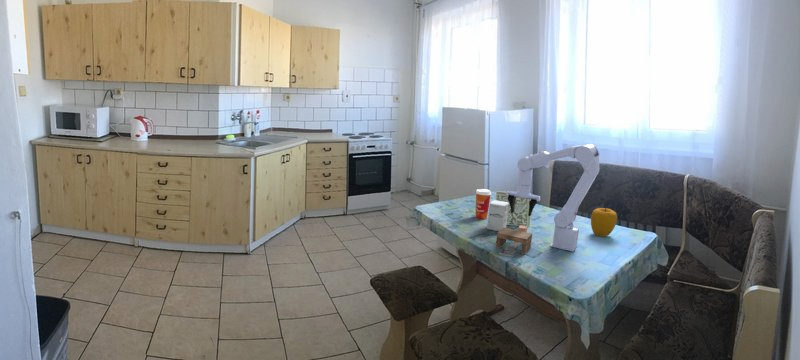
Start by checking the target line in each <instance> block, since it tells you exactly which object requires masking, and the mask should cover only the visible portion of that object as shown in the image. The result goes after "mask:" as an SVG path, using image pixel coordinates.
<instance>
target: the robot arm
mask: <svg viewBox="0 0 800 360" xmlns="http://www.w3.org/2000/svg"><path fill="white" fill-rule="evenodd" d="M567 157H568V158H569V157H570V158H571V159H576V161H578V162H579V164H580V165H581V166H582V169H583V172H582V175H581V177H580V178H579V180H578V182H577V183H576V186H575V187H574V189H573V191H572V192H571V194H570V196H569V198H568V200H567V201H566V203H565V204H564V206H563V207H562V208H561V209H560V211H559V212H558V213H556V214H555V215H554V218H553V220H554V221H553V222H554V232H553V239H552V242H551V243H550V244H549V246H550V247H552V248H556V249H560V250H565V251H570V252H574V251H575V250H576V248H577V246H578V238H579V233H580V230H579V228H576V227H574V222H575V221H576V219H577V213H578V211H579V207H580V205H581V204H582V202H583V200H584V198H585V197H586V196H587V194H588V192H589V190H590V188H591V187H592V184H593V183H594V181H595V179H596V177H597V176H598V174H599V173H600V170H601V167H600V151H599V149H598V148H597V146H596V145H595V144H593V143H587V144H580V145H579V144H578V145H572V146H569V147H566V148H562V149H559V150H556V151H553V152H548V151H544V150H540V151H538V153H534V154H531V153H530V154H528V155H527V156H523V157H521V158H520V159H519V160H518V161H517V168H518V176H517V185H516V190H515V191H514V190H507V191H506V194H505V196H506V197H507V201H508V203H509V206H510V207H509V208H510V212H511V213H515V206H516V205H515V204H516V199H517V198H519V199H524V200H529V201H528V205H529V206H528V207H529V208H528V215H527V216H528V217H531V216H532V213H533V211H534V208H535V206H536V205H537V203H538V202H540V201H541V196H540V195H536V194H532V193H531V188H532V179H533V169H537V168H540V167H544V166H549V165H550V164H551V162H552V161H555V160H558V159H562V158H567Z"/></svg>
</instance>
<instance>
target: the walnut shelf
mask: <svg viewBox="0 0 800 360" xmlns="http://www.w3.org/2000/svg"><path fill="white" fill-rule="evenodd" d="M532 238H533V233H530V232H527V233H526V232H522V231H518V229H512V228H507V227H506V228H503V229H502V230H500V231H497V234H496V243H495V248H496V249H501V248H502V247H503V246H505V244H506V243H507V241H511V242H514V241H515V242H519V243H522V244H521V252H520V254H521V255H526V254H527V253H528V252H529V251H530V250H531V248H532V247H531V246H532Z"/></svg>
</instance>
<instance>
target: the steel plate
mask: <svg viewBox="0 0 800 360" xmlns="http://www.w3.org/2000/svg"><path fill="white" fill-rule="evenodd" d="M498 254H499V255H501V256H503V257H504V256H505V257H508V258H509V257H510V258H512V257H513V256H514V255H515V254H516V251H510V250H506V248H502V250H500V251H499V252H498Z"/></svg>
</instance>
